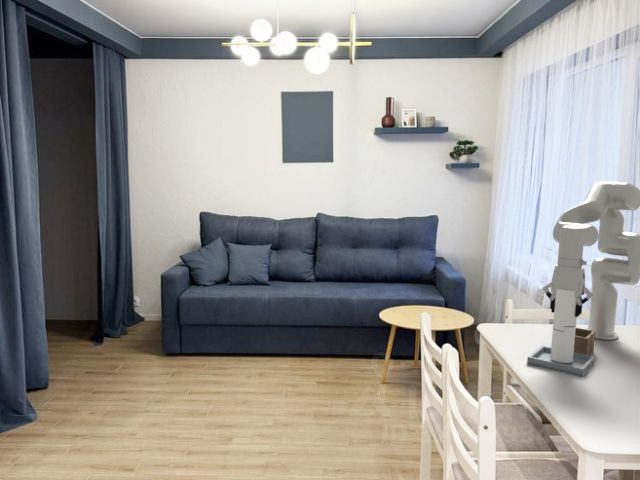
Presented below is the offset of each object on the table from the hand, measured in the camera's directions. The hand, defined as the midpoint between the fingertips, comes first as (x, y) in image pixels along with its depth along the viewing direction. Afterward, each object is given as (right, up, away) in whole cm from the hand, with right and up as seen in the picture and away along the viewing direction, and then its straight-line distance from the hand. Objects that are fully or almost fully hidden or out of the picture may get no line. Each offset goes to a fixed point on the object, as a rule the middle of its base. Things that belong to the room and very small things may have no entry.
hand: (565, 313), depth 199 cm
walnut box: (+9, -16, +14) cm, 23 cm away
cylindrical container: (0, -16, +2) cm, 16 cm away
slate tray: (0, -18, +2) cm, 18 cm away
